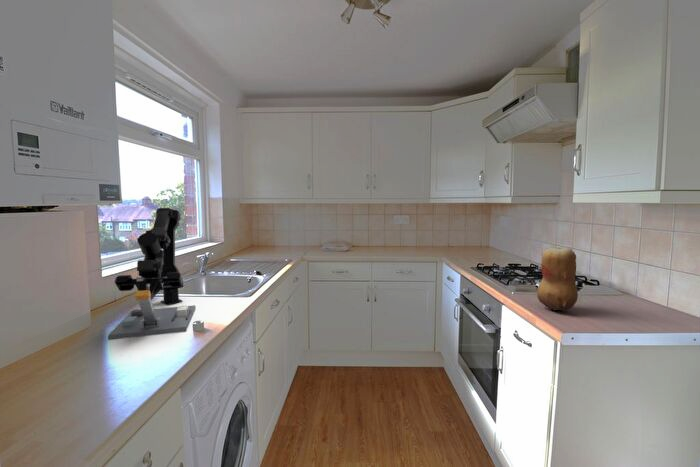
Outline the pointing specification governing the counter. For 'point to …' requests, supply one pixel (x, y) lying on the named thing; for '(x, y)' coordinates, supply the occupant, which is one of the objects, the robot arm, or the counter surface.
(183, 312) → the slider
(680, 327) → the counter surface
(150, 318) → the lever
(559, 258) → the butternut squash
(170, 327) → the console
